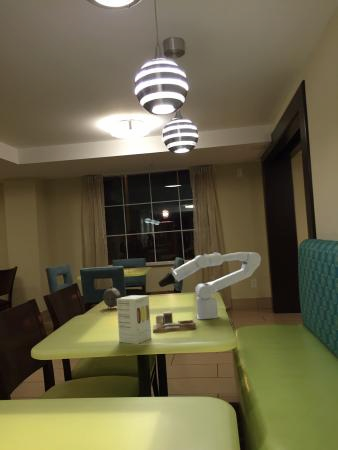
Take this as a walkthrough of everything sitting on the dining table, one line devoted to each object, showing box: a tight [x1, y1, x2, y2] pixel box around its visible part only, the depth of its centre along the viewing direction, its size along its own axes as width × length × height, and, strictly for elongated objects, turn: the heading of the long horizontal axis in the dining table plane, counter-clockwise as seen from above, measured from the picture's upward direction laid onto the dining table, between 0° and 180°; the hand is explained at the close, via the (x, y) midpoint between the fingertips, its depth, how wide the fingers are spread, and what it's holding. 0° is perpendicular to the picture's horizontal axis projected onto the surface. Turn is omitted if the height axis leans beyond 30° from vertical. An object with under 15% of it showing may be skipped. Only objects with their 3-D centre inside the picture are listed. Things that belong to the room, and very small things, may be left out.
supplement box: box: [116, 294, 152, 345], centre depth 142 cm, size 10×9×17 cm
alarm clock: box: [102, 281, 122, 310], centre depth 215 cm, size 11×5×16 cm, turn 58°
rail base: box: [152, 313, 197, 334], centre depth 155 cm, size 18×8×6 cm, turn 93°
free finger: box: [162, 311, 174, 324], centre depth 166 cm, size 4×4×5 cm
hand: (159, 285), depth 170 cm, fingers open, 7 cm apart
